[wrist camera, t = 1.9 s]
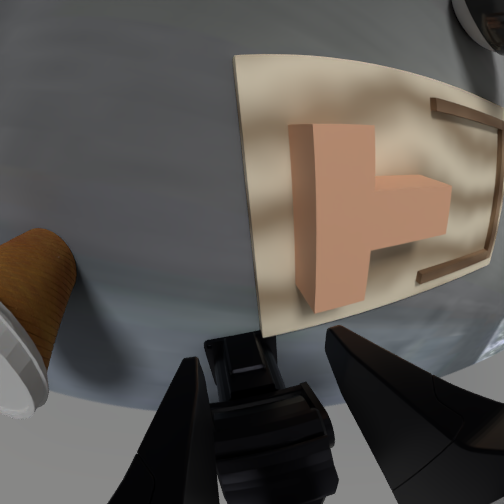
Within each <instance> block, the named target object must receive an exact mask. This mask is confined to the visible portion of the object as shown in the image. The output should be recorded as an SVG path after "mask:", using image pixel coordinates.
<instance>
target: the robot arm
mask: <svg viewBox="0 0 504 504" xmlns="http://www.w3.org/2000/svg"><path fill="white" fill-rule="evenodd" d="M208 345H211V346H208ZM204 349H205V352H206V356H207V359H208V362H209V366H210V369H211V372H212V375H213V378H214V381H215V384H216V385H217V389H218V396H219V402H217V403H210V404H209V399H208V394H207V388H206V382H205V377H204V374H203V371H202V368H201V365H200V362H199V359H198V358H197V357H189V358H184V359H183V360H182V362H181V364H180V366H179V368H178V370H177V372H176V374H175V376H174V378H173V380H172V382H171V384H170V386H169V388H168V390H167V392H166V394H165V396H164V398H163V400H162V402H161V404H160V406H159V408H158V410H157V412H156V414H155V416H154V418H153V420H152V422H151V424H150V426H149V428H148V430H147V432H146V434H145V436H144V438H143V441H142V443H141V445H140V447H139V449H138V451H137V453H138V454H136V455H135V457H134V459H133V461H132V463H131V465H130V467H129V469H128V471H127V473H126V475H125V476H124V478H123V480H122V482H121V483H120V485H119V487H118V488H117V490H116V491H115V493H114V494H113V496H112V497H111V499H110V501H109V502H108V503H107V504H220V503H219V493H218V484H217V475H218V479H219V482H220V485H221V488H222V491H223V495H224V498H225V499H226V501H227V504H323V502H324V500H325V498H326V496H329V495H332V494H335V492H336V489H337V485H338V481H339V478H338V475H337V472H336V469H335V466H334V463H333V458H332V454H331V449H330V448H332V447H333V446H334V443H335V437H334V431H333V427H332V423H331V420H330V418H329V416H328V413H327V412H326V410H325V409H324V407H323V405H322V404H321V403H320V401H319V400H318V398H317V397H316V395H315V394H314V392H313V391H312V389H311V388H310V387H309V385H308V384H307V382H304V383H300V385H296V386H293V387H289V388H286V387H285V385H284V382H283V379H282V377H281V374H280V372H279V369H278V366H277V349H276V335H274V336H270V337H265V338H263V336H262V332H261V330H259V331H254V332H249V333H244V334H239V335H234V336H228V337H223V338H217V339H211V340H207V341H205V342H204ZM325 352H326V355H327V358H328V360H329V363H330V365H331V368H332V371H333V373H334V376H335V378H336V381H337V384H338V386H339V389H340V391H341V394H342V396H343V398H344V400H345V402H346V403H347V405H348V407H349V409H350V411H351V413H352V415H353V416H354V419H355V420H356V422H357V424H358V426H359V428H360V430H361V432H362V434H363V436H364V437H365V440H366V441H367V443H368V445H369V447H370V449H371V451H372V453H373V455H374V457H375V459H376V461H377V463H378V464H379V466H380V468H381V470H382V472H383V474H384V476H385V478H386V480H387V482H388V484H389V486H390V488H391V490H393V491H392V492H393V494H394V496H395V498H396V500H397V502H398V504H504V403H501V402H497V401H494V400H492V399H489V398H486V397H483V396H480V395H478V394H474V393H472V392H470V391H467V390H465V389H462V388H459V387H457V386H455V385H453V384H451V383H448V382H446V381H444V380H442V379H441V378H439V377H437V376H435V375H432V374H431V373H429V372H427V371H425V370H423V369H421V368H419V367H417V366H415V365H414V364H412V363H410V362H408V361H406V360H404V359H402V358H400V357H398V356H397V355H395V354H393V353H391V352H389V351H387V350H385V349H384V348H382V347H380V346H378V345H376V344H374V343H372V342H371V341H369V340H367V339H365V338H363V337H361V336H360V335H358V334H356V333H354V332H352V331H351V330H349V329H347V328H345V327H343V326H341V325H337V326H333V327H330V328H328V329H327V332H326V341H325Z"/></svg>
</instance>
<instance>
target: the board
mask: <svg viewBox="0 0 504 504" xmlns="http://www.w3.org/2000/svg"><path fill="white" fill-rule="evenodd" d="M232 60H233V69H234V79H235V88H236V98H237V108H238V117H239V127H240V137H241V146H242V156H243V166H244V176H245V185H246V195H247V205H248V214H249V224H250V234H251V243H252V253H253V263H254V273H255V282H256V292H257V302H258V312H259V321H260V330H261V332H262V336H263V338H265V337H270V336H274V335H279V334H283V333H287V332H291V331H295V330H300V329H304V328H308V327H311V326H315V325H319V324H323V323H327V322H330V321H334V320H337V319H341V318H344V317H348V316H351V315H355V314H358V313H361V312H365V311H368V310H371V309H374V308H377V307H380V306H383V305H386V304H389V303H392V302H395V301H398V300H401V299H404V298H407V297H410V296H413V295H415V294H418V293H421V292H423V291H426V290H429V289H431V288H434V287H437V286H439V285H442V284H444V283H447V282H449V281H452V280H454V279H456V278H459V277H461V276H464V275H466V274H468V273H471V272H473V271H475V270H477V269H480V268H482V267H484V266H486V265H488V264H489V263H490V259H491V255H492V252H493V248H494V244H495V239H496V235H497V230H498V225H499V220H500V214H501V208H502V202H503V195H504V108H502V107H500V106H498V105H496V104H494V103H492V102H490V101H488V100H486V99H484V98H481V97H479V96H477V95H475V94H472V93H470V92H467V91H465V90H462V89H460V88H457V87H454V86H452V85H449V84H446V83H443V82H440V81H437V80H434V79H431V78H428V77H425V76H421V75H418V74H414V73H410V72H407V71H403V70H399V69H394V68H390V67H386V66H381V65H376V64H371V63H365V62H359V61H353V60H346V59H338V58H330V57H319V56H307V55H285V54H253V55H235V56H234V57H233V59H232ZM292 124H360V125H375V176H390V175H422V176H425V177H428V178H431V179H434V180H437V181H440V182H443V183H446V184H448V185H451V186H452V192H451V202H450V210H449V217H448V224H447V230H446V234H444V235H440V236H435V237H431V238H427V239H422V240H418V241H413V242H409V243H404V244H400V245H395V246H390V247H386V248H381V249H376V250H372V251H371V253H370V262H369V271H368V278H367V286H366V292H365V299H364V301H360V302H357V303H353V304H350V305H346V306H342V307H339V308H335V309H331V310H327V311H323V312H320V313H316V314H314V312H313V311H312V309H311V307H310V306H309V304H308V303H307V301H306V300H305V298H304V297H303V295H302V293H301V292H300V290H299V289H298V287H297V286H296V284H295V243H294V216H293V195H292V177H291V161H290V146H289V133H288V125H292Z"/></svg>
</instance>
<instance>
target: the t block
mask: <svg viewBox="0 0 504 504" xmlns="http://www.w3.org/2000/svg"><path fill="white" fill-rule="evenodd" d="M288 133H289V146H290V161H291V177H292V195H293V216H294V243H295V284H296V286H297V287H298V289H299V290H300V292H301V293H302V295H303V297H304V298H305V300H306V301H307V303H308V304H309V306H310V307H311V309H312V311H313V312H314V314H316V313H320V312H323V311H327V310H331V309H335V308H339V307H342V306H346V305H350V304H353V303H357V302H360V301H364V299H365V292H366V286H367V278H368V271H369V262H370V253H371V251H372V250H376V249H381V248H386V247H390V246H395V245H400V244H404V243H409V242H413V241H418V240H422V239H427V238H431V237H435V236H440V235H444V234H446V230H447V224H448V217H449V210H450V202H451V192H452V186H451V185H448V184H446V183H443V182H440V181H437V180H434V179H431V178H428V177H425V176H422V175H390V176H375V125H360V124H292V125H288Z"/></svg>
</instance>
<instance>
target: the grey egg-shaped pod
mask: <svg viewBox="0 0 504 504" xmlns="http://www.w3.org/2000/svg"><path fill="white" fill-rule="evenodd" d="M452 4H453V8H454V11H455V14H456V16H457V18H458V20H459V22H460V24H461V25H462V27H463V28H464V30H465V31H466V32H467V34H468V35H469V36H470V37H471V38H472V39H473V40H474V41H475V42H477V43H478V44H479V45H481V46H482V47H484V48H486V49H488V50H491V51H494V52H497V53H498V54H500V55H504V0H452Z"/></svg>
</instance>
